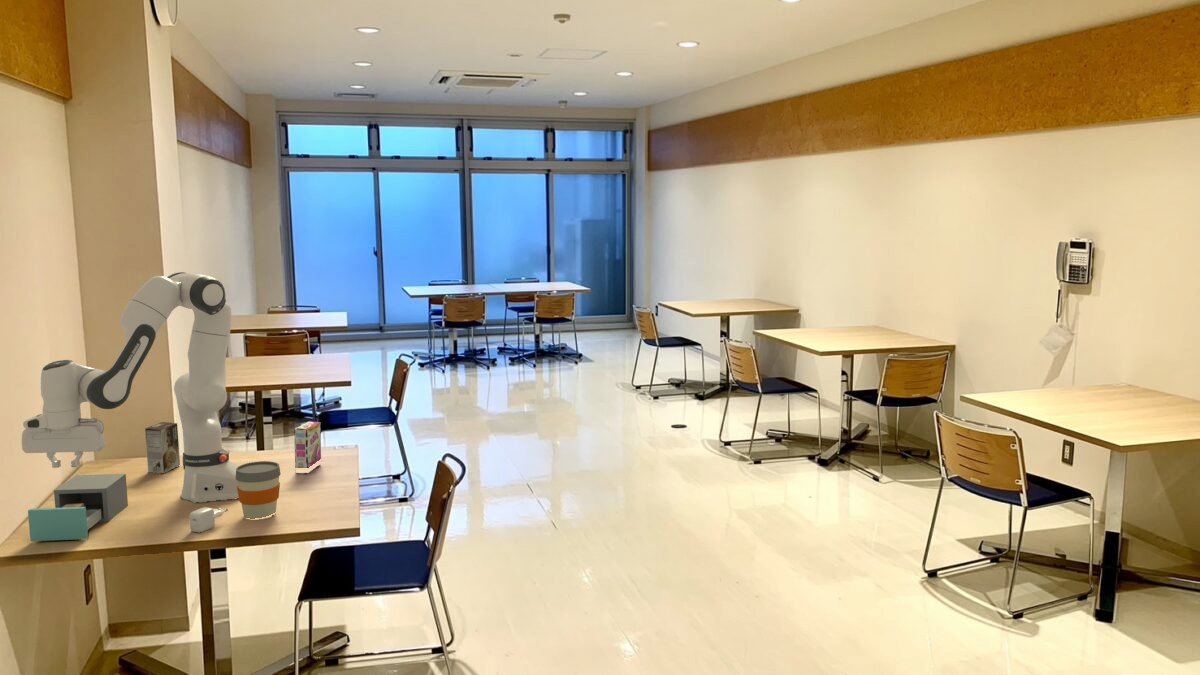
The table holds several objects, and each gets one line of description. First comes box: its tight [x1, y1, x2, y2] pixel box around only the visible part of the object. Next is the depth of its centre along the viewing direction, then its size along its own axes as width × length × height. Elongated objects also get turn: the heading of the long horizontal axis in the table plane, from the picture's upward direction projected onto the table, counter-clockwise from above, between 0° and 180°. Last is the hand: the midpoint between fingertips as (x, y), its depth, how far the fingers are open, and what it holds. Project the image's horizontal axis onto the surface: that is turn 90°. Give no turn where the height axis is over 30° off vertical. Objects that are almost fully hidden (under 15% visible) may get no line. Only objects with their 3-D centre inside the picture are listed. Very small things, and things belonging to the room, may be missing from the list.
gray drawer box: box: [53, 473, 129, 523], centre depth 245 cm, size 14×14×10 cm
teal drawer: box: [27, 507, 102, 542], centre depth 231 cm, size 14×14×9 cm
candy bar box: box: [294, 421, 322, 469], centre depth 291 cm, size 11×5×16 cm, turn 174°
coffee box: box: [144, 421, 181, 474], centre depth 289 cm, size 9×6×16 cm
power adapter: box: [189, 506, 229, 533], centre depth 238 cm, size 11×5×6 cm, turn 160°
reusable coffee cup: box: [236, 460, 281, 519], centre depth 247 cm, size 13×12×15 cm
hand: (66, 466), depth 230 cm, fingers open, 3 cm apart
